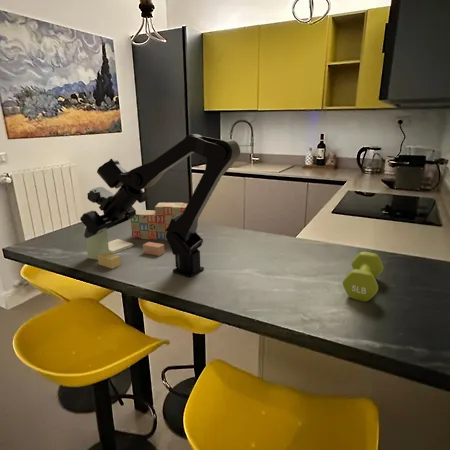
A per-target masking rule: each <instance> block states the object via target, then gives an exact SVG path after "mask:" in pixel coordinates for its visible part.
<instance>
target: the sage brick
mask: <svg viewBox="0 0 450 450" xmlns="http://www.w3.org/2000/svg"><path fill="white" fill-rule="evenodd" d="M83 230H84V231H83V232H84V233H85V230H86V226H84V227H83ZM84 240H85V244H86V245H85V246H86V253H87V258H88V259H91V260H92V259H93V260H97V261H98V255H100V254H103V253H105V252H107V253H110V252H109V246H108V242H109V239H108V229H107V228H105V230H103V232H101V233H99V234H97V235H94V236H91V237H89V238H85V239H84Z"/></svg>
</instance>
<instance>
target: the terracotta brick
mask: <svg viewBox="0 0 450 450" xmlns="http://www.w3.org/2000/svg"><path fill="white" fill-rule="evenodd" d="M142 249H143V251H142V252H143V254H147V255H152V256H157V257H158V256H159V257H160V256H161V255H163V254H164V253H165V243H164V244H163V243H159V242H152V241H148V242H145V243H143V244H142Z"/></svg>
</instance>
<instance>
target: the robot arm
mask: <svg viewBox="0 0 450 450" xmlns="http://www.w3.org/2000/svg"><path fill="white" fill-rule="evenodd" d="M194 153H195V154H198V155H200V156H202V157H204V158H206V159H205V160H206V161H205V170H204V172H203V174H202V176H201V178H200V180H199V182H198V183H197V186H196V187H195V190H194V191H193V193H192V195H191V197H190V200H189V201H188V204H187V206H186V208H185V210H184V212H183V214H182V213H181V214H179V215H177V216H175V217H174V218H172V219H171V221H170V224H169V227H168V228H167V229H166V230H165V231H167V233H166V239H167V240H166V239H165V240H166V241H167V244H168V245H169V247H170V250H171V252H172V255H173V256H174V259H175V268H173V269H172V272H173V273H176V274H179V275H181V276H185V277H188V278H191V277H193V276H195V275H197V274H198V273H200V272H202V271H204V270H205V267H203V266H201V250H199V248H201V247H202V245H203V243H204V239H203V238H202V236H200V235H199V234H198V233H197V229H198V222H199V218H200V217H201V215H202V212H203V211H204V210H205V208H206V205H207V203H208V202H209V200H210V198H211V196H212V195H213V193H214V191H215V189H216V187H217V185H218V183H219V182H220V180H221V178H222V176H223V175H224V174H226V172H227V171H229V170H230V168H231V167H232V166H233V164H235V163H236V161H237V160H238V159H239V157H240V155H241V148H240V145H239V143H238V142H237V141H235V140H234V139H232V138H226V139H225V138H224V139H217V138H212V137H208V136H204V135H200V134H199V133H192V134H188V135H186V136H185V137H184V138H183V139H181V141H179V142H177V143H176V144H175V145H173V146H172V147H170V148H169V149H168V150H167V151H165V152H163V153H162V154H161V155H159V156H157V157H156V158H155V159H153V160H152V161H150V162H147V163H144V164H142V165H139V166H136V167H135V168H132V169H130V170H128V171H127V170H126V169H125V168H124V167H123V166H122V165H121V163H120V162H119V160H118V159H117V158H116V157H113V158H110V159H109V160H108V161H106V162H104V163H103V164H102V165H101V166H99V167H98V168H97V171H96V173H97V175H98V176H99V177H100V178H101V179H102V180H103V181H104V183H105V184H106V185H107V186H108V187H109V188H110V189H114V188H115V189H116V190H117V189H118V190H117V191H116V192H115V193H113V192H111V191H110V190H108V189H106V188H105V187H104V186H98V187H95V188H91V190H89V192H88V193H87V194H86V195H87V200H88V201H89V202H91V203H93V204H97V205H99V207H98V208H99V210H100V211H101V212H102V211H103V212H102V213H103V214H102V215H100V214H99V213H98V211H96V210H90V211H87V212H85V213H83V214H82V215H81V216H80V217H79V218H80V219H79V220H80V222H82V224H83V225H84V227H86V230H85V232H84V235H83V236H84V237H85V238H89V237H91V236H94V235H97V234H99V233H101V232H103V230H105V228H107V230H108V229H111V228H113V227H115V226H118V225H120V224H122V223H125V222H127V221H129V220H131V218H133V217H134V216H135V215H136V210H137V209H135V208H134V205H135V203H136V202H138V203H139V204H141V203H144V202H146V201H148V195H147V191H143V190H144V189H147V188H149V187H150V188H151V187H153V186H155V184H157V182H158V181H160V179H161V178H162V177H163V175H164V174H165V173H166V172H167V171H168V170H170V169H172V168H174V166H176V165H178V164H179V163H181V162H182V161H184V160H185V159H187V158H188V157H189V156H191V155H193V154H194Z"/></svg>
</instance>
